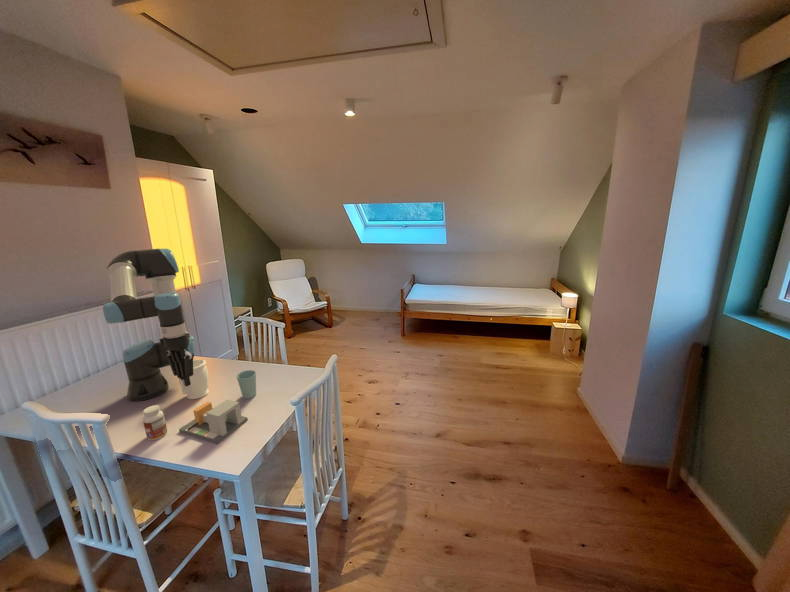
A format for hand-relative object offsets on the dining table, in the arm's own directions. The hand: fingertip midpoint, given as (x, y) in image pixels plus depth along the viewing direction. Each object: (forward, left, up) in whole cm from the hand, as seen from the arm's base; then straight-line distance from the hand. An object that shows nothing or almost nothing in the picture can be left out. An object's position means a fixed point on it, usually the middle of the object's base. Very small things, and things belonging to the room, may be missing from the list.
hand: (187, 392), depth 124 cm
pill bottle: (-4, -11, -12) cm, 17 cm away
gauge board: (+11, 0, -12) cm, 16 cm away
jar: (-15, +14, -12) cm, 24 cm away
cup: (+8, +21, -12) cm, 26 cm away
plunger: (+11, -2, -11) cm, 15 cm away
